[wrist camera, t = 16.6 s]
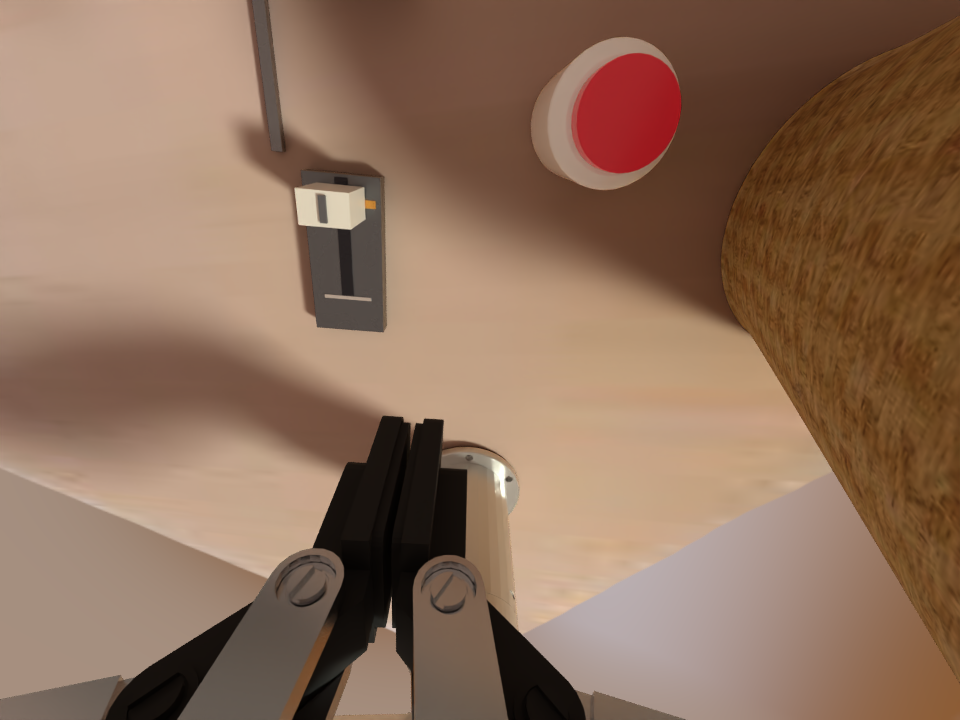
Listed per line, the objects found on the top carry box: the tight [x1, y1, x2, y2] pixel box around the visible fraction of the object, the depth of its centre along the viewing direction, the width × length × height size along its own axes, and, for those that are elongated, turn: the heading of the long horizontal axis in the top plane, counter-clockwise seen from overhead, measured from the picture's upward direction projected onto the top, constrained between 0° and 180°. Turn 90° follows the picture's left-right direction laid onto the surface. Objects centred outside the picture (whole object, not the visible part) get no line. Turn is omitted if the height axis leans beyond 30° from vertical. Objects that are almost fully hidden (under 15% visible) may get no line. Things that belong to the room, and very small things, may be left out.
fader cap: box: [295, 182, 366, 230], centre depth 30 cm, size 2×4×5 cm, turn 85°
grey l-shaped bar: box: [252, 0, 286, 152], centre depth 26 cm, size 12×1×8 cm, turn 175°
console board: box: [301, 169, 387, 332], centre depth 35 cm, size 13×6×2 cm, turn 175°
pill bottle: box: [531, 37, 681, 190], centre depth 26 cm, size 8×8×11 cm
